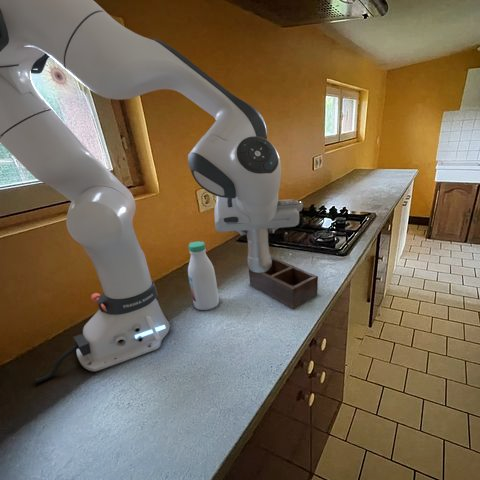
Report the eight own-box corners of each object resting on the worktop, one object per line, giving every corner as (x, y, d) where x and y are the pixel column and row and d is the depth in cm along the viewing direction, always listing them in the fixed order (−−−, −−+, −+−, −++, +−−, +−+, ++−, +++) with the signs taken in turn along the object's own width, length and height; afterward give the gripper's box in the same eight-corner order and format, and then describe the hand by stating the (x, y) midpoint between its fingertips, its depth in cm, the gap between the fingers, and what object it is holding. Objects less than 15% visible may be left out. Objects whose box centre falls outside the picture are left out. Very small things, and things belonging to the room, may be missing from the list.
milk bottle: (223, 298, 96) (215, 239, 86) (212, 312, 89) (202, 250, 80) (201, 296, 98) (191, 238, 88) (189, 309, 91) (176, 248, 82)
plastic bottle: (269, 276, 79) (265, 200, 70) (244, 274, 81) (237, 200, 71) (274, 265, 85) (271, 194, 76) (251, 264, 86) (245, 194, 77)
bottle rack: (293, 309, 89) (292, 289, 86) (250, 285, 103) (248, 267, 99) (317, 295, 95) (318, 276, 92) (273, 274, 109) (273, 257, 106)
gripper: (302, 188, 67) (294, 218, 80) (209, 193, 65) (217, 223, 78) (306, 213, 65) (298, 239, 78) (210, 219, 63) (218, 245, 76)
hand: (257, 231), depth 78 cm, fingers closed on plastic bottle, 6 cm apart
